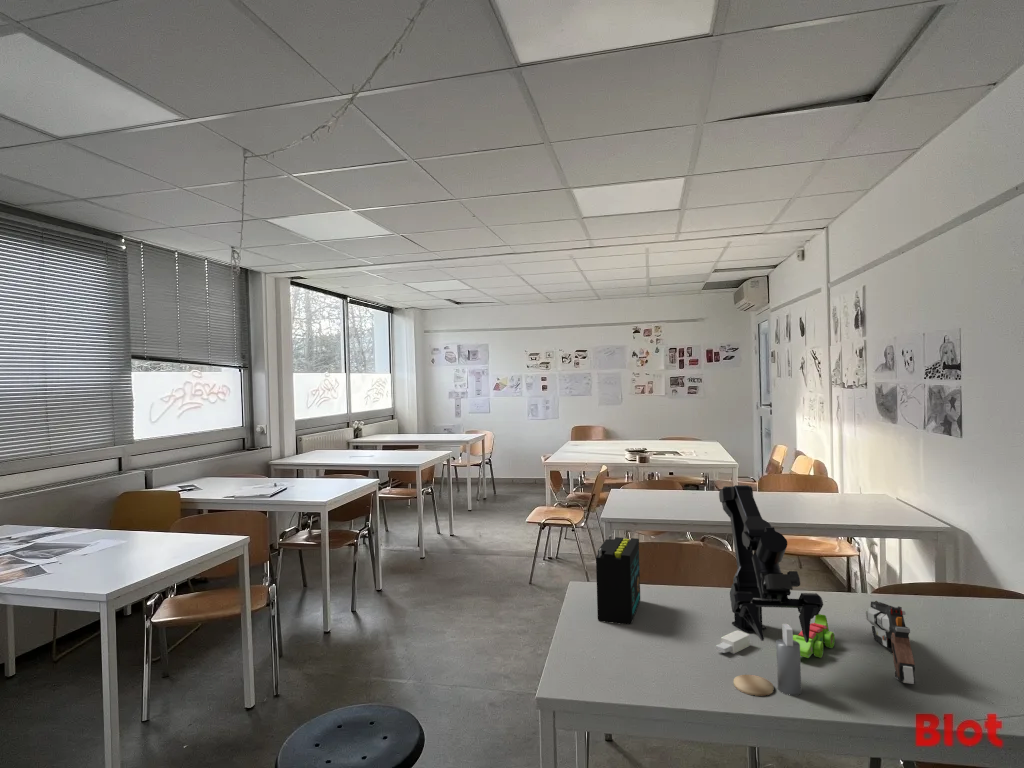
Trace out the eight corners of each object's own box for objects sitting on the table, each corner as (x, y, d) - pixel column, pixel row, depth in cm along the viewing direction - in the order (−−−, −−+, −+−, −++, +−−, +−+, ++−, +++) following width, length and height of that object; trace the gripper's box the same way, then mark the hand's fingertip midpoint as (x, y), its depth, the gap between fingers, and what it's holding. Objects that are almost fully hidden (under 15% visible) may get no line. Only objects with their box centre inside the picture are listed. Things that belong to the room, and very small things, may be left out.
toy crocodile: (812, 667, 134) (811, 641, 134) (783, 658, 138) (782, 632, 138) (840, 640, 147) (840, 616, 147) (813, 633, 152) (812, 610, 152)
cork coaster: (754, 674, 131) (754, 672, 131) (782, 691, 123) (782, 688, 123) (725, 681, 128) (725, 678, 128) (751, 699, 120) (751, 696, 120)
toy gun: (890, 662, 146) (884, 600, 150) (922, 685, 121) (914, 609, 125) (869, 660, 148) (864, 598, 152) (896, 682, 123) (889, 607, 127)
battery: (609, 597, 181) (607, 534, 182) (640, 600, 178) (638, 535, 178) (597, 621, 163) (595, 550, 164) (631, 625, 160) (629, 552, 160)
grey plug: (774, 684, 126) (772, 622, 126) (797, 685, 126) (795, 622, 126) (781, 695, 122) (779, 630, 122) (804, 696, 121) (802, 631, 121)
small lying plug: (737, 641, 148) (737, 630, 148) (749, 646, 145) (749, 634, 145) (714, 653, 142) (713, 640, 142) (726, 658, 139) (726, 645, 139)
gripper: (732, 556, 133) (745, 623, 122) (818, 557, 130) (840, 626, 119) (726, 580, 141) (738, 645, 129) (807, 582, 138) (827, 648, 126)
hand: (784, 640), depth 126 cm, fingers open, 9 cm apart
